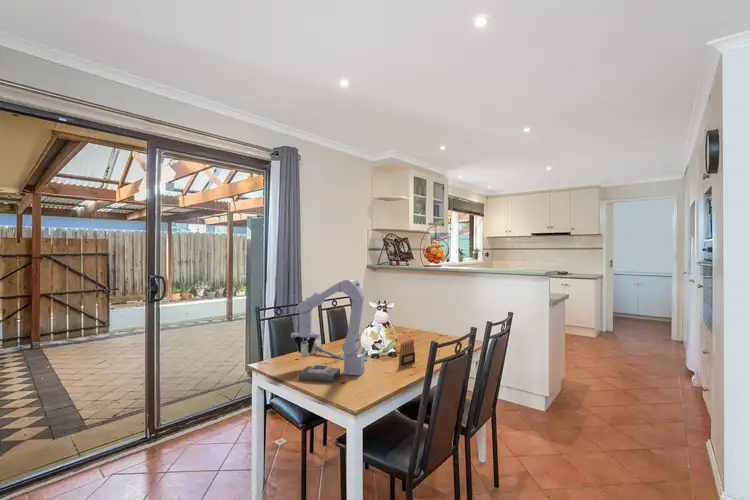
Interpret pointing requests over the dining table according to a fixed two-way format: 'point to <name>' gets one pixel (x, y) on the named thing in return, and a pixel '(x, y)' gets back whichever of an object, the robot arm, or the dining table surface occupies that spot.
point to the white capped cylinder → (304, 349)
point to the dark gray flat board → (319, 373)
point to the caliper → (320, 349)
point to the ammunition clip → (407, 353)
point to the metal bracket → (361, 351)
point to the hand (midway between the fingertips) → (305, 352)
